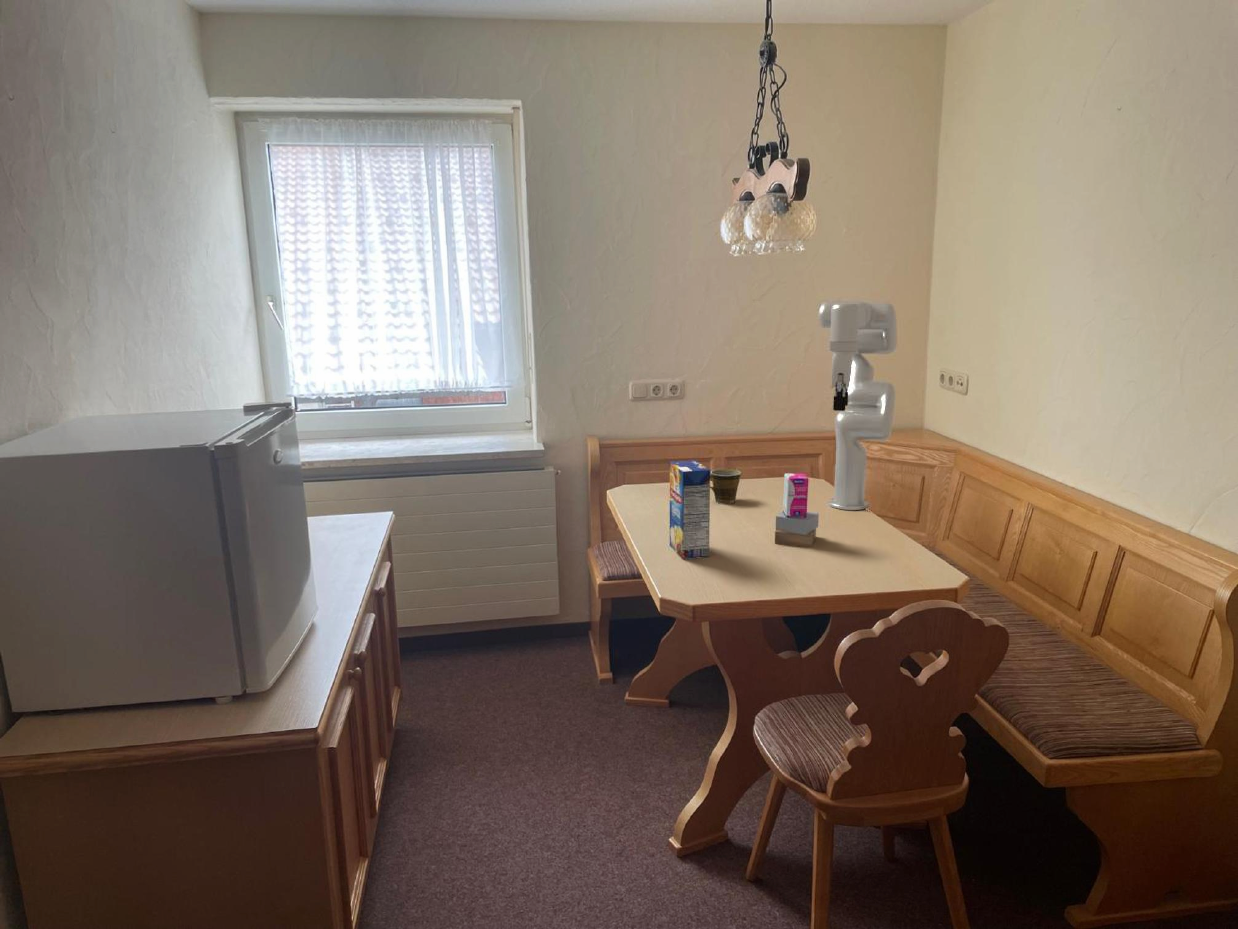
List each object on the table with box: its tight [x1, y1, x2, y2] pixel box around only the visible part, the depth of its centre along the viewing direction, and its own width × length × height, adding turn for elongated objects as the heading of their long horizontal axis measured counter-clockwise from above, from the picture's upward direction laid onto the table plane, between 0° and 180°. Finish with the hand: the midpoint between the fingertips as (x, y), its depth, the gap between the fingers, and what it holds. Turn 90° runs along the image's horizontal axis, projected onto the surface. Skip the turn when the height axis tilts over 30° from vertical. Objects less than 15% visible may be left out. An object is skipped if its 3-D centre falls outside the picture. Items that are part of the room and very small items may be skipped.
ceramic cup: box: [710, 468, 742, 504], centre depth 267 cm, size 13×10×10 cm
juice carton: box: [669, 460, 711, 560], centre depth 216 cm, size 12×8×24 cm, turn 13°
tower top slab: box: [775, 511, 819, 535], centre depth 225 cm, size 9×9×4 cm
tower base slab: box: [774, 528, 817, 548], centre depth 226 cm, size 10×10×4 cm
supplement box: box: [782, 473, 809, 517], centre depth 223 cm, size 6×6×12 cm
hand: (840, 407), depth 228 cm, fingers open, 9 cm apart
